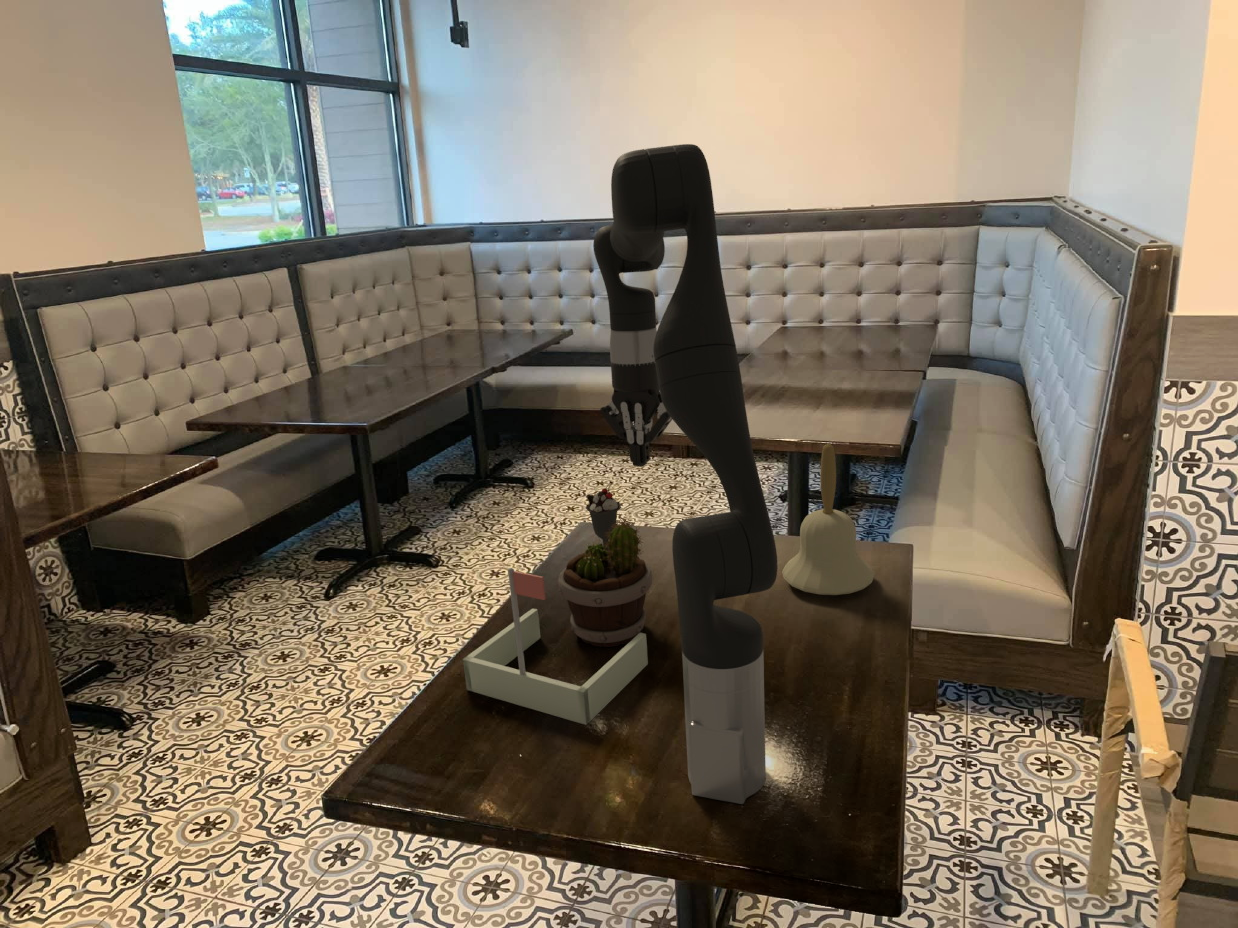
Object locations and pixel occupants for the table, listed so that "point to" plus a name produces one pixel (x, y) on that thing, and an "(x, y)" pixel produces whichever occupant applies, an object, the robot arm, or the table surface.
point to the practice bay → (538, 691)
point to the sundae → (603, 513)
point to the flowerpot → (608, 589)
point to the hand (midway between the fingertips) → (640, 465)
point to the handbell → (828, 545)
